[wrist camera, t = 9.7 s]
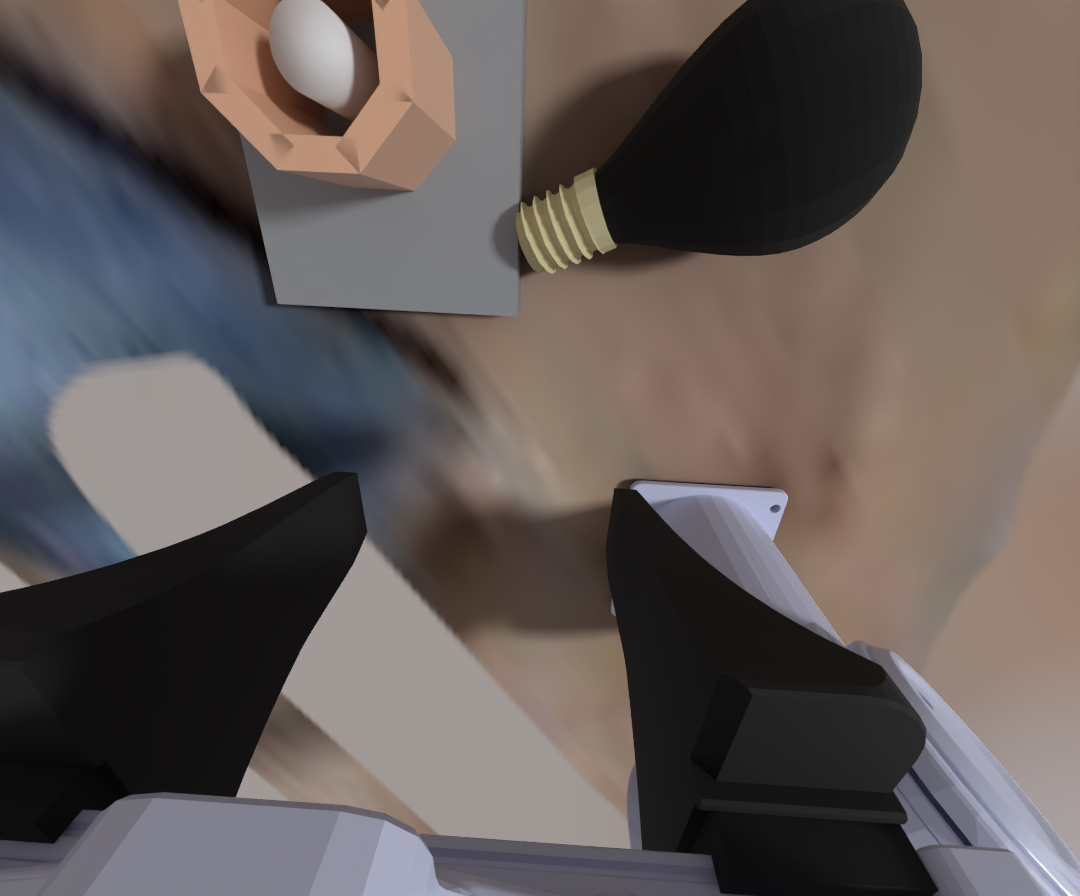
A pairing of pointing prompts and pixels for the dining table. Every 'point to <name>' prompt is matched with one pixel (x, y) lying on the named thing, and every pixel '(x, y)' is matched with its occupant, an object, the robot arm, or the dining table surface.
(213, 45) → the collar
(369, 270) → the duct plate
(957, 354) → the dining table surface
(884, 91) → the light bulb
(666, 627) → the robot arm
